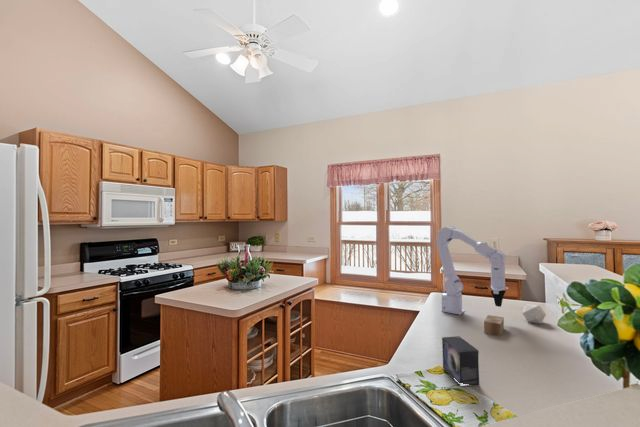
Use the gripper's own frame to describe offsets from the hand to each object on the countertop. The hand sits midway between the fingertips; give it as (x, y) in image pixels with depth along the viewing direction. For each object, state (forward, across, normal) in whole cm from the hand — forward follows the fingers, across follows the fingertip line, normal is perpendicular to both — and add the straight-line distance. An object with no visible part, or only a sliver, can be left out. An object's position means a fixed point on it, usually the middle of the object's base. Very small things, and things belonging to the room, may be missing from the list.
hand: (498, 306), depth 138 cm
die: (+7, +8, -13) cm, 17 cm away
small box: (+7, -62, +3) cm, 62 cm away
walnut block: (+5, -9, 0) cm, 10 cm away
